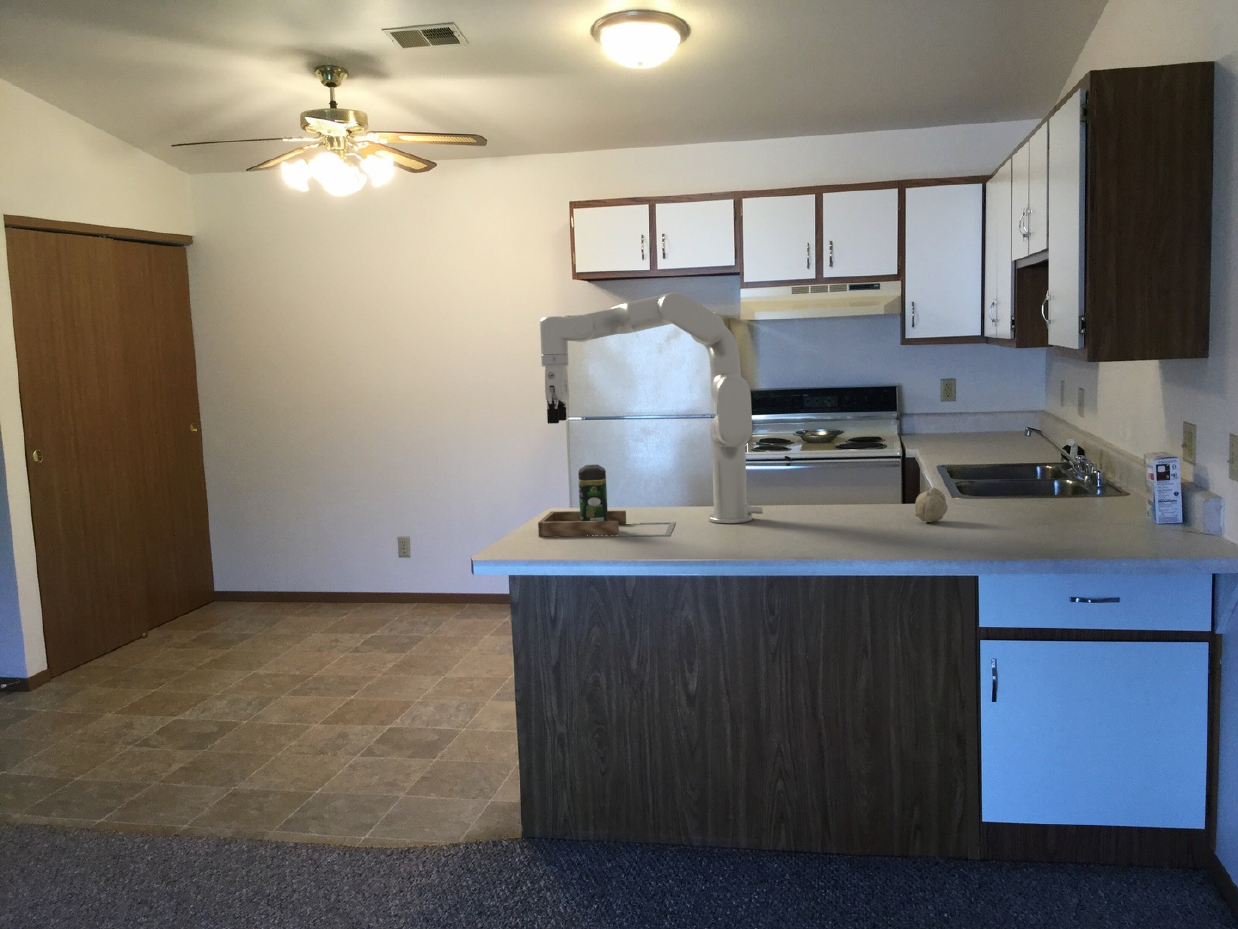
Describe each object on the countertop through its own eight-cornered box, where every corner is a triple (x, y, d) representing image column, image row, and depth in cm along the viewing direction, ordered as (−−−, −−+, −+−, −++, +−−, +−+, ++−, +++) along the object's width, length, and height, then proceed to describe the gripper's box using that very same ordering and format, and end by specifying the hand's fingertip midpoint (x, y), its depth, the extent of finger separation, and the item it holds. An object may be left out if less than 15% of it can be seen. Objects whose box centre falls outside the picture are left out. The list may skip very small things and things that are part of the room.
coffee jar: (580, 527, 279) (578, 463, 277) (608, 526, 280) (605, 462, 277) (580, 534, 270) (577, 468, 267) (608, 533, 270) (606, 466, 268)
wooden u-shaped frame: (626, 524, 282) (625, 510, 282) (618, 536, 265) (617, 521, 264) (551, 524, 285) (550, 511, 285) (538, 536, 268) (538, 522, 268)
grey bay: (675, 522, 281) (675, 522, 281) (670, 536, 262) (670, 535, 262) (626, 523, 283) (626, 522, 283) (617, 536, 264) (617, 535, 264)
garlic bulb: (945, 519, 270) (945, 484, 269) (952, 525, 262) (952, 489, 261) (910, 520, 271) (910, 485, 270) (916, 526, 263) (916, 489, 262)
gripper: (561, 361, 263) (563, 424, 265) (574, 359, 280) (576, 419, 282) (534, 362, 264) (536, 424, 266) (548, 360, 281) (551, 419, 283)
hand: (557, 421), depth 274 cm, fingers open, 9 cm apart
